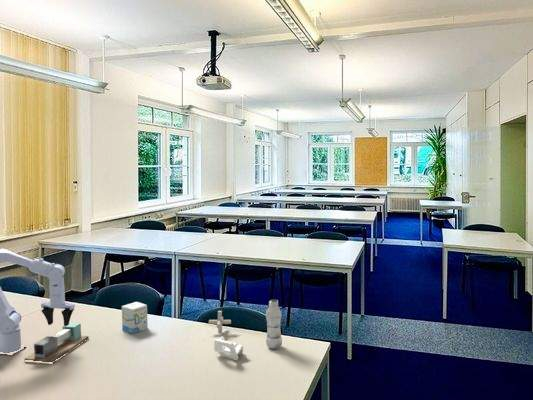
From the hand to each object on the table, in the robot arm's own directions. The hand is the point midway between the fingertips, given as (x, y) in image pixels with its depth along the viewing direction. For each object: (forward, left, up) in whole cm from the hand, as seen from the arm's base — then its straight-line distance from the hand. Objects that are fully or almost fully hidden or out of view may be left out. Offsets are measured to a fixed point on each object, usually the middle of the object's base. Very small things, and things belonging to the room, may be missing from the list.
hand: (58, 324), depth 179 cm
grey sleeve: (+2, -11, -8) cm, 14 cm away
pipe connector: (+64, +24, -10) cm, 69 cm away
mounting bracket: (+74, +2, -10) cm, 75 cm away
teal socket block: (+2, +5, -8) cm, 10 cm away
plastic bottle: (+91, +12, -10) cm, 93 cm away
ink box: (+23, +22, -10) cm, 34 cm away
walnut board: (+2, -5, -9) cm, 11 cm away
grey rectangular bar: (+2, 0, -6) cm, 6 cm away
